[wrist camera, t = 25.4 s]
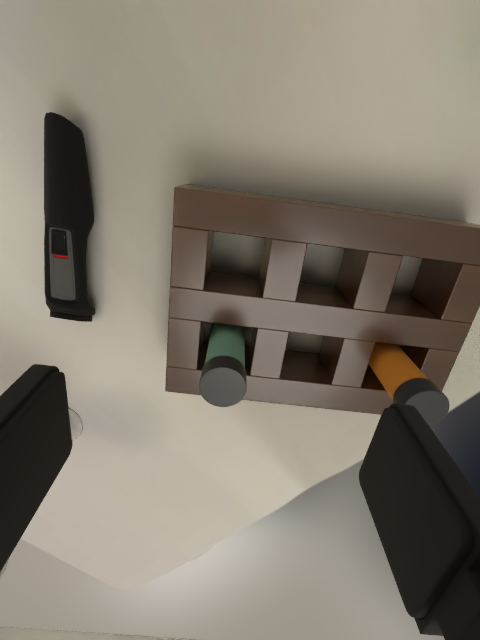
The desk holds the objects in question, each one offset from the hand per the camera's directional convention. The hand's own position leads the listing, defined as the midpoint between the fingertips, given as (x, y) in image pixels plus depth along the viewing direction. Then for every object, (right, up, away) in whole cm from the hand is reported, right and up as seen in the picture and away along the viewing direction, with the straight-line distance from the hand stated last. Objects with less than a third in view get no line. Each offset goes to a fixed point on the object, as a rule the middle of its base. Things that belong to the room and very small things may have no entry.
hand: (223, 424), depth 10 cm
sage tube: (-1, +3, +20) cm, 21 cm away
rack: (+6, +5, +19) cm, 21 cm away
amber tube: (+13, +1, +21) cm, 24 cm away
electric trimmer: (-13, +10, +17) cm, 24 cm away
